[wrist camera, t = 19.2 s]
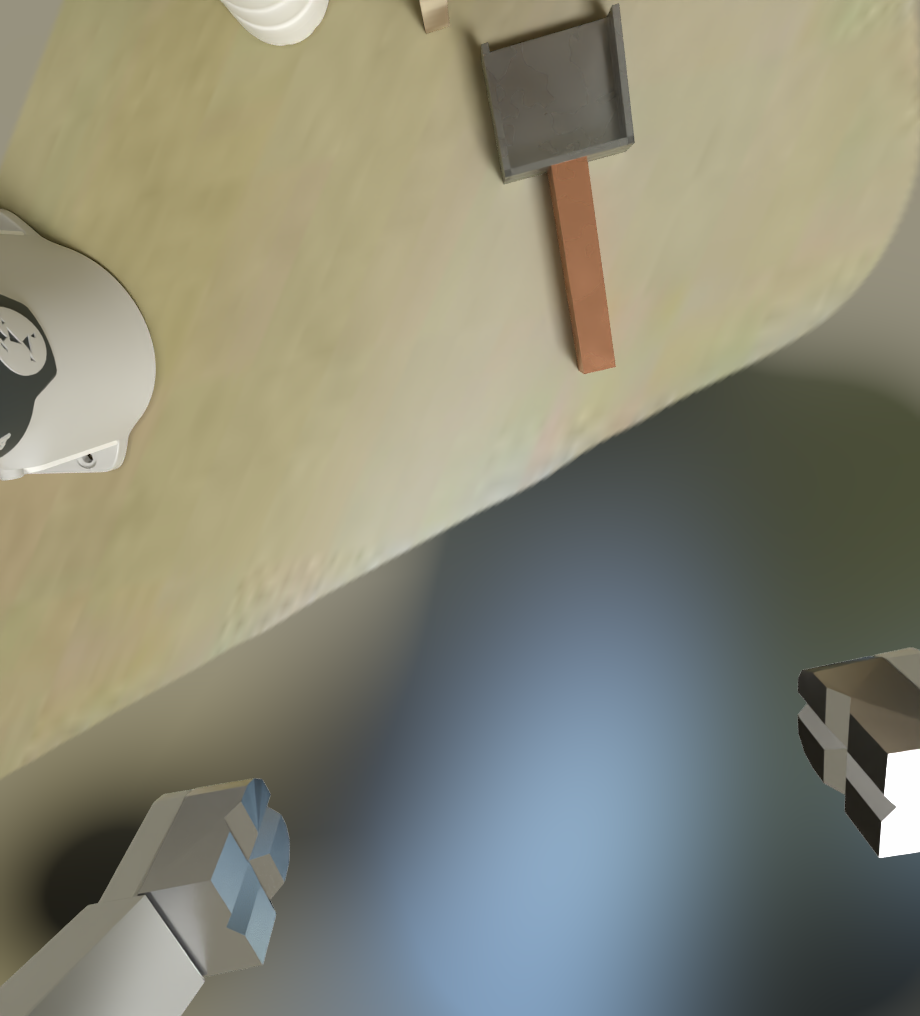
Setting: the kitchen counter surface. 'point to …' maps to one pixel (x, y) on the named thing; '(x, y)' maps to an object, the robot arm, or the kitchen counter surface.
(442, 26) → the stand
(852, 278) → the kitchen counter surface
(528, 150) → the shovel
